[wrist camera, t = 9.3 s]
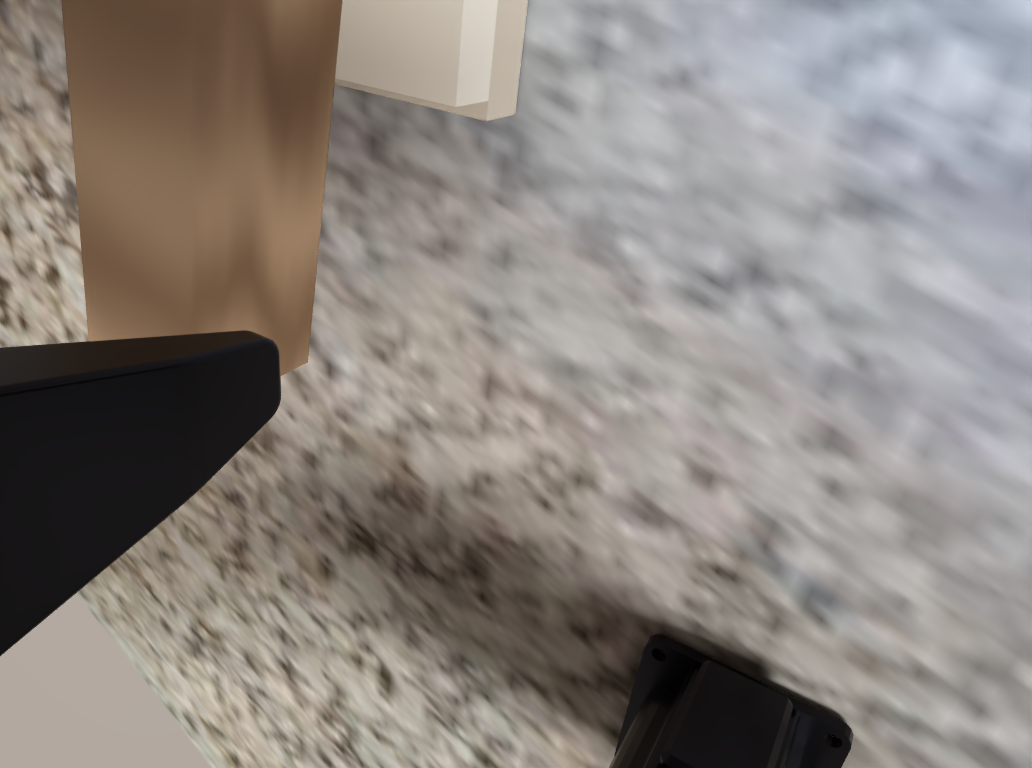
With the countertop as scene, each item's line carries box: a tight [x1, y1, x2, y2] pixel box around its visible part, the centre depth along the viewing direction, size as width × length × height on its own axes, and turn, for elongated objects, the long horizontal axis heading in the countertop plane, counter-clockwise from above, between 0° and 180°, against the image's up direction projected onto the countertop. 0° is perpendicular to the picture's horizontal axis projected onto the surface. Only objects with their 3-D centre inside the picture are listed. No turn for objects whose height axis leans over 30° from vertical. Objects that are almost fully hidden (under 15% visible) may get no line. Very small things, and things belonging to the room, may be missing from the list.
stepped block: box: [335, 0, 528, 121], centre depth 21 cm, size 4×11×3 cm, turn 82°
